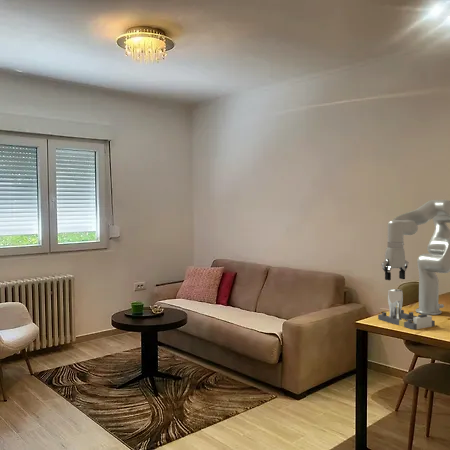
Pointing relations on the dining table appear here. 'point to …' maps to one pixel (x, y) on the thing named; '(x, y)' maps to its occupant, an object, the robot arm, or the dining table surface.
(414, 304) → the dining table surface
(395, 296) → the beer glass
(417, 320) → the cable comb
